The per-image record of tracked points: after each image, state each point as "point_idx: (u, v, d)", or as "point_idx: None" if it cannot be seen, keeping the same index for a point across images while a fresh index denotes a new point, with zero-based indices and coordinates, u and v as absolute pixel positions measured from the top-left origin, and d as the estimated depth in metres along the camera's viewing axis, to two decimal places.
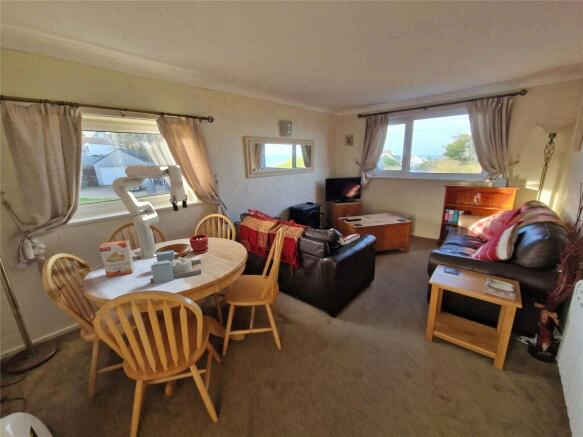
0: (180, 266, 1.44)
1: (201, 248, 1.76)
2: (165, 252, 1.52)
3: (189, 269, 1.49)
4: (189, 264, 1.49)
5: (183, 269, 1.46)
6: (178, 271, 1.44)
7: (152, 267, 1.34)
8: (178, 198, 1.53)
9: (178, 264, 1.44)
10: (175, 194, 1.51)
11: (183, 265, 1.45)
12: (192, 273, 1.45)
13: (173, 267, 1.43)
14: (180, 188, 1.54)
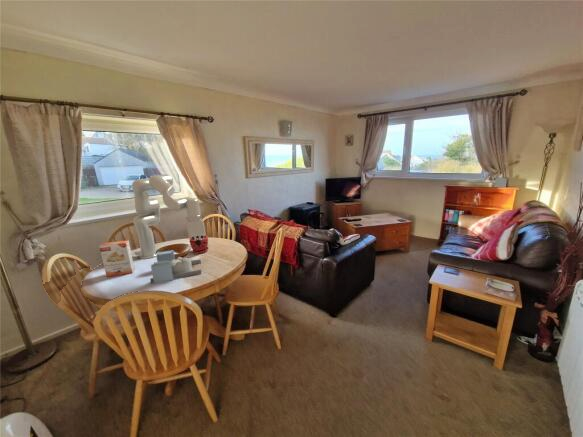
0: (180, 266, 1.44)
1: (201, 248, 1.76)
2: (165, 252, 1.52)
3: (189, 269, 1.49)
4: (189, 264, 1.49)
5: (183, 269, 1.46)
6: (178, 271, 1.44)
7: (152, 267, 1.34)
8: None
9: (178, 264, 1.44)
10: None
11: (183, 265, 1.45)
12: (192, 273, 1.45)
13: (173, 267, 1.43)
14: None
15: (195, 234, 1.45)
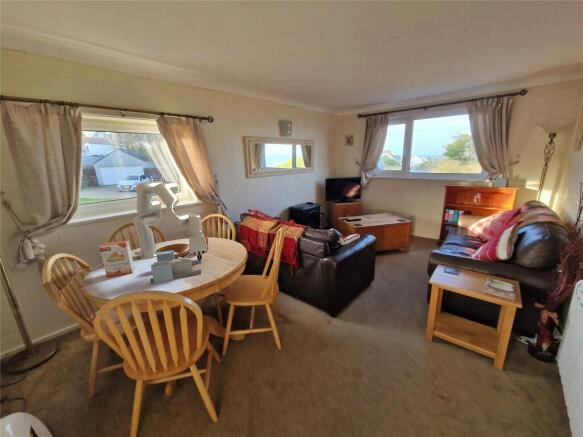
0: (180, 266, 1.44)
1: None
2: (165, 252, 1.52)
3: (189, 269, 1.49)
4: (189, 264, 1.49)
5: (183, 269, 1.46)
6: (178, 271, 1.44)
7: (152, 267, 1.34)
8: None
9: (178, 264, 1.44)
10: None
11: (183, 265, 1.45)
12: (192, 273, 1.45)
13: (173, 267, 1.43)
14: None
15: (197, 249, 1.48)
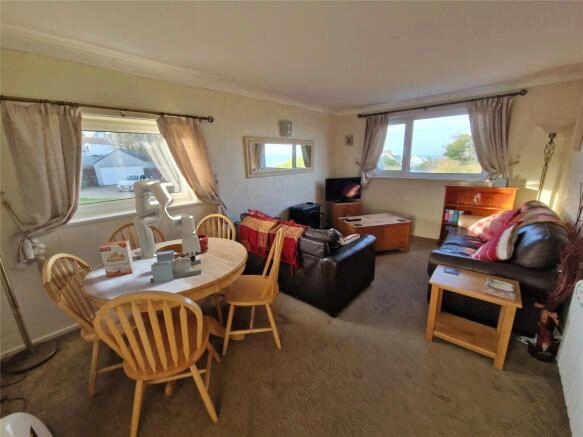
0: (179, 266, 1.44)
1: (201, 248, 1.76)
2: (165, 252, 1.52)
3: (189, 269, 1.49)
4: (188, 264, 1.48)
5: (182, 269, 1.45)
6: (178, 271, 1.44)
7: (152, 267, 1.34)
8: None
9: (177, 264, 1.43)
10: None
11: (182, 265, 1.45)
12: (192, 273, 1.45)
13: (172, 267, 1.43)
14: None
15: (190, 250, 1.47)
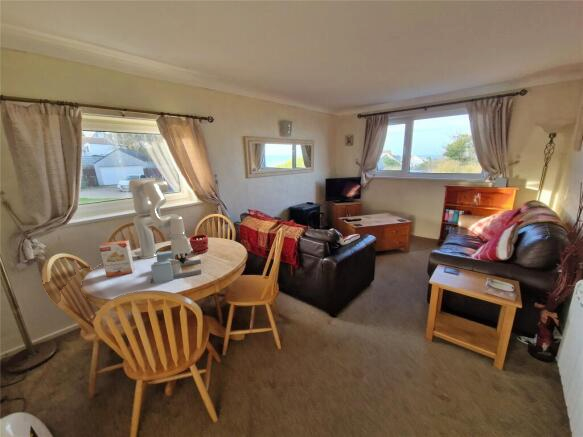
0: None
1: (201, 248, 1.76)
2: (165, 252, 1.52)
3: (178, 271, 1.46)
4: (178, 266, 1.46)
5: None
6: None
7: (152, 267, 1.34)
8: None
9: None
10: None
11: None
12: (192, 273, 1.45)
13: None
14: None
15: (179, 252, 1.44)
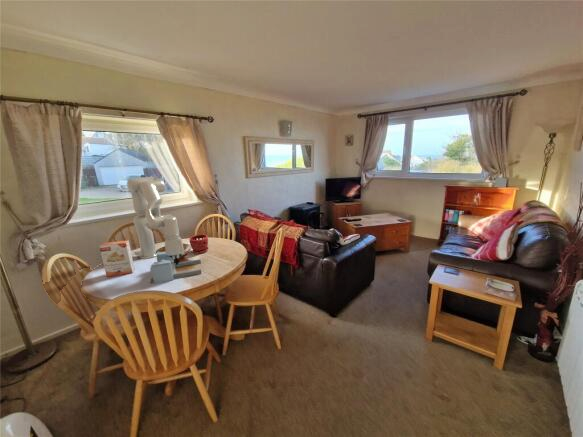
0: None
1: (201, 248, 1.76)
2: (165, 252, 1.52)
3: (172, 272, 1.45)
4: (172, 267, 1.45)
5: None
6: None
7: (152, 267, 1.34)
8: None
9: None
10: None
11: None
12: (192, 273, 1.45)
13: None
14: None
15: (173, 253, 1.43)
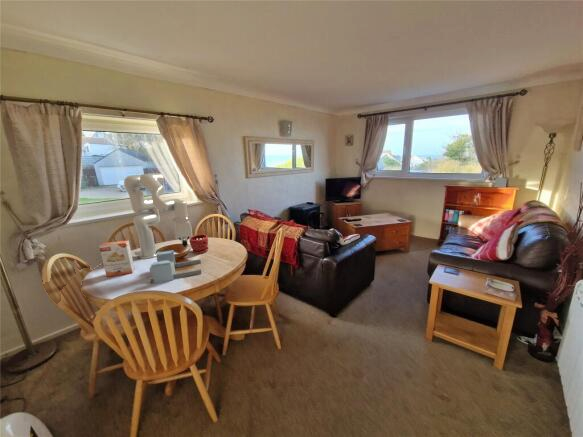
0: None
1: (201, 248, 1.76)
2: (165, 252, 1.52)
3: None
4: None
5: None
6: None
7: (152, 267, 1.34)
8: None
9: None
10: None
11: None
12: (192, 273, 1.45)
13: None
14: None
15: (182, 235, 1.50)
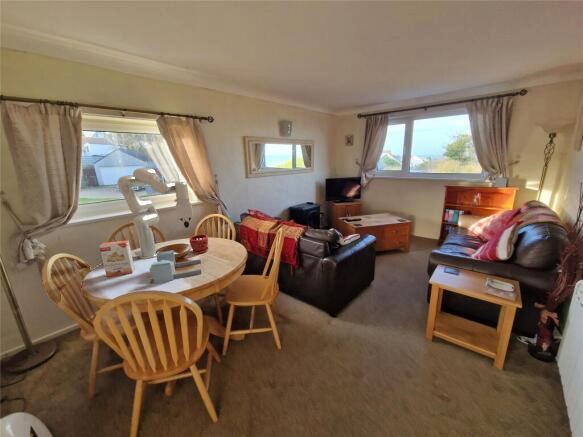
0: None
1: (201, 248, 1.76)
2: (165, 252, 1.52)
3: None
4: None
5: None
6: None
7: (152, 267, 1.34)
8: None
9: None
10: None
11: None
12: (192, 273, 1.45)
13: None
14: None
15: (183, 216, 1.54)
